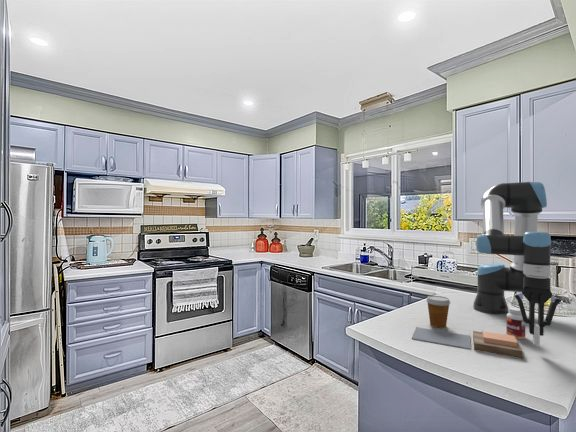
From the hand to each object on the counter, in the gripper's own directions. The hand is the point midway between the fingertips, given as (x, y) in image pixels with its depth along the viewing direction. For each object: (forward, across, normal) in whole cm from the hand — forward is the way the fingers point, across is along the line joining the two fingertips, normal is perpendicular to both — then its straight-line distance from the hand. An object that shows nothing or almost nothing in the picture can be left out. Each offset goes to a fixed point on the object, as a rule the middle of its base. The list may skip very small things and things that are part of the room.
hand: (536, 343), depth 112 cm
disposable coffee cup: (+4, -32, +15) cm, 35 cm away
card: (+1, -11, 0) cm, 11 cm away
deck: (+3, -12, 0) cm, 12 cm away
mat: (+3, -30, 0) cm, 30 cm away
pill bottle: (+4, -4, +16) cm, 17 cm away
